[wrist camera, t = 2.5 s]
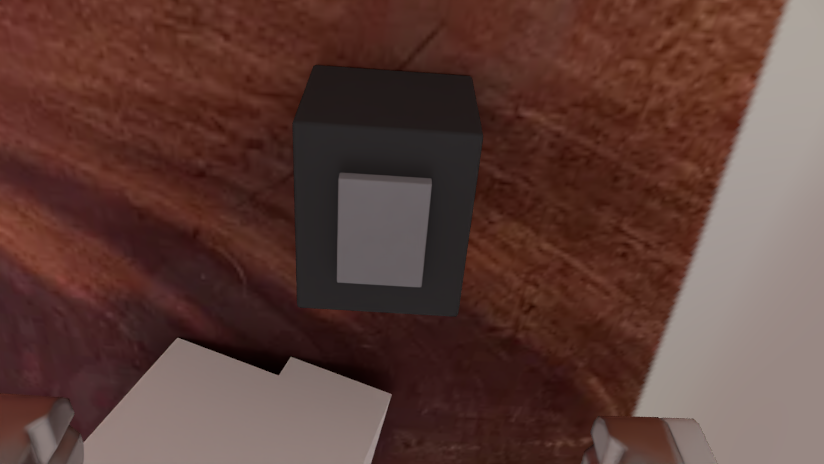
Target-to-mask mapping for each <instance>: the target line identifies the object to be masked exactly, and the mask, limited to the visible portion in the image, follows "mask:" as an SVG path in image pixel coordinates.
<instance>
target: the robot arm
mask: <svg viewBox="0 0 824 464" xmlns="http://www.w3.org/2000/svg"><path fill="white" fill-rule="evenodd" d="M73 416H74V411H73V408H72V406H71V403H70V400H69V399H68V398H63V397H50V396H33V395H17V394H1V393H0V464H83V461H84V445H83V441H82V437H81V434H80V433H79V432H78V431H76V430H75V429H74V428H73V427H71V426H70V425H69V423H70V421H71V420H72V418H73ZM591 436H592V439H593V443H594V444H593V445H592V446H591V447H589V448H588V449H586V450H585V451H584V455H583V459H582V463H581V464H718V463H717V461H716V459H715V457H714V455H713V453H712V450H711V448H710V446H709V444H708V442H707V440H706V438H705V436H704V433H703V431H702V429H701V427H700V425H699V424H698V423H697V422H696V421H695V420H694V419H684V418H658V417H625V416H598V417H597V418H596V419H595V420H594V423H593V426H592V429H591Z"/></svg>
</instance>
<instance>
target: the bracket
mask: <svg viewBox="0 0 824 464" xmlns="http://www.w3.org/2000/svg"><path fill="white" fill-rule="evenodd" d="M391 395H392V394H390V393H387V392H384V391H382V390H379V389H376V388H374V387H371V386H368V385H366V384H363V383H360V382H358V381H355V380H352V379H350V378H347V377H344V376H341V375H339V374H336V373H333V372H331V371H328V370H325V369H323V368H320V367H317V366H315V365H312V364H309V363H306V362H304V361H301V360H298V359H296V358H293V357H290V359H289V360H288V362H287V363H286V365H285V366H284V368H283V370H282V371H281V373H280V374H279V375H276V374H273V373H271V372H268V371H265V370H263V369H260V368H257V367H255V366H252V365H249V364H247V363H244V362H241V361H239V360H236V359H233V358H231V357H228V356H225V355H223V354H220V353H217V352H215V351H212V350H209V349H207V348H204V347H201V346H199V345H196V344H193V343H191V342H188V341H185V340H183V339H180V338H177V339H176V340H175V341H174V342H173V343H172V344H171V345H170V346H169V348H168V349H167V350H166V351H165V352H164V353H163V354H162V355H161V357H160V358H159V359H158V360H157V361H156V362H155V363H154V364H153V365H152V367H151V368H150V369H149V370H148V371H147V372H146V373H145V374H144V376H143V377H142V378H141V379H140V380H139V381H138V382H137V383H136V385H135V386H134V387H133V388H132V389H131V390H130V391H129V392H128V393H127V395H126V396H125V397H124V398H123V399H122V400H121V401H120V402H119V404H118V405H117V406H116V407H115V408H114V409H113V410H112V411H111V412H110V414H109V415H108V416H107V417H106V418H105V419H104V420H103V421H102V423H101V424H100V425H99V426H98V427H97V428H96V429H95V430H94V432H93V433H92V434H91V435H90V436H89V437H88V438H87V439H86V440H85V442H84V443H83V445H84V461H83V464H371V461H372V458H373V455H374V452H375V448H376V445H377V442H378V438H379V435H380V432H381V428H382V425H383V422H384V418H385V415H386V412H387V409H388V405H389V402H390V399H391Z"/></svg>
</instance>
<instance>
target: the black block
mask: <svg viewBox="0 0 824 464" xmlns="http://www.w3.org/2000/svg"><path fill="white" fill-rule="evenodd" d="M482 142H483V132H482V127H481V122H480V117H479V112H478V107H477V102H476V97H475V91H474V86H473V81H472V77H470V76H461V75H447V74H433V73H418V72H404V71H390V70H376V69H362V68H348V67H334V66H320V65H315V66H313V68H312V71H311V74H310V77H309V79H308V82H307V85H306V88H305V90H304V93H303V96H302V99H301V101H300V104H299V107H298V110H297V112H296V115H295V118H294V121H293V163H294V202H295V242H296V281H297V305H298V307H300V308H317V309H334V310H351V311H368V312H386V313H403V314H420V315H437V316H457V315H458V311H459V304H460V297H461V290H462V283H463V276H464V269H465V262H466V255H467V248H468V241H469V234H470V227H471V220H472V213H473V206H474V199H475V192H476V185H477V177H478V170H479V163H480V156H481V149H482Z"/></svg>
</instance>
